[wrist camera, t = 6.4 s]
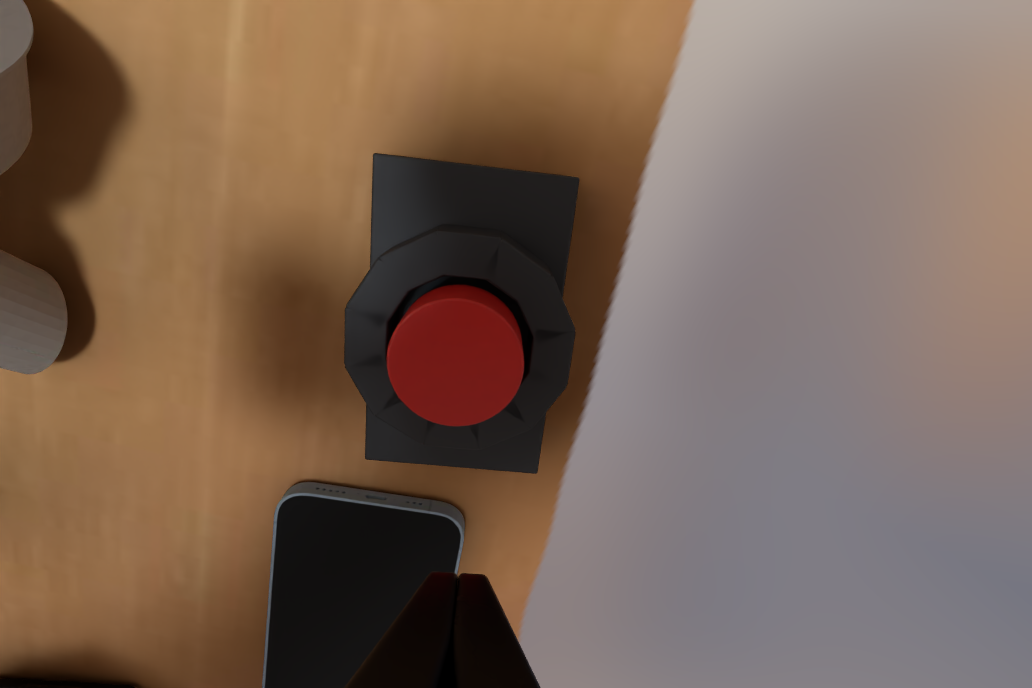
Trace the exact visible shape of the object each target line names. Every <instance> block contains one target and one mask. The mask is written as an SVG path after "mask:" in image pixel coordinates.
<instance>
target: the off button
mask: <svg viewBox="0 0 1032 688" xmlns="http://www.w3.org/2000/svg"><path fill="white" fill-rule="evenodd" d="M387 370H388V375H389V379H390V382H391V384H392V386H393V388H394V390H395V392H396V394H397V395H398V397H399V398H400V399H401V400H402V402H403V403H404V404H405V405H406V406H407V407H408V408H409V409H410V410H412V411H413V412H414V413H416V414H417V415H419V416H420V417H422V418H424V419H426V420H429V421H431V422H434V423H437V424H441V425H447V426H468V425H473V424H477V423H480V422H483V421H485V420H487V419H489V418H491V417H493V416H495V415H496V414H498V413H499V412H500V411H502V410H503V409H504V408H505V407H506V406H507V405H508V404H509V403H510V402H511V400H512V399H513V398H514V396H515V395H516V393H517V391H518V389H519V387H520V384H521V381H522V378H523V373H524V353H523V345H522V337H521V332H520V328H519V325H518V323H517V320H516V319H515V317H514V315H513V313H512V312H511V311H510V309H509V308H508V307H507V306H506V305H505V303H504V302H503V301H501V300H500V299H499V298H498V297H496V296H495V295H493V294H492V293H490V292H488V291H486V290H484V289H481V288H478V287H475V286H470V285H459V284H456V285H447V286H442V287H439V288H436V289H433V290H431V291H429V292H427V293H425V294H424V295H422V296H421V297H420V298H418V299H417V300H416V301H415V302H414V303H413V304H412V305H411V306H410V308H409V309H408V310H407V312H406V313H405V315H404V316H403V318H402V319H401V321H400V322H399V324H398V325H397V327H396V329H395V330H394V332H393V334H392V336H391V339H390V341H389V345H388V349H387Z"/></svg>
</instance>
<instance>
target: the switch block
mask: <svg viewBox="0 0 1032 688" xmlns="http://www.w3.org/2000/svg"><path fill="white" fill-rule="evenodd" d="M578 187H579V178H578V177H572V176H564V175H555V174H547V173H539V172H530V171H522V170H513V169H505V168H497V167H488V166H480V165H472V164H463V163H455V162H446V161H438V160H430V159H421V158H413V157H404V156H396V155H388V154H379V153H374V154H373V177H372V215H371V252H370V270H369V271H368V273H367V274H366V276H365V277H364V279H363V280H362V282H361V283H360V285H359V286H358V288H357V289H356V291H355V292H354V294H353V296H352V297H351V299H350V300H349V302H348V303H347V305H346V308H345V348H344V364H345V368H346V370H347V371H348V373H349V375H350V376H351V378H352V380H353V382H354V383H355V385H356V387H357V388H358V390H359V392H360V394H361V395H362V397H363V399H364V400H365V402H366V439H365V459H367V460H379V461H391V462H403V463H415V464H427V465H439V466H451V467H463V468H475V469H487V470H499V471H511V472H523V473H535V474H536V473H537V472H538V465H539V458H540V451H541V444H542V437H543V430H544V423H545V416H546V411H547V410H548V409H549V408H550V407H551V405H552V404H553V403H554V402H555V401H556V399H557V398H558V397H559V396H560V394H561V393H562V392H563V391H564V390H565V388H566V386H567V384H568V378H569V371H570V365H571V358H572V352H573V345H574V339H575V327H574V325H573V322H572V320H571V317H570V315H569V313H568V310H567V308H566V305H565V303H564V301H563V291H564V284H565V277H566V270H567V263H568V256H569V249H570V243H571V236H572V229H573V222H574V215H575V208H576V201H577V194H578ZM456 284H459V285H470V286H475V287H478V288H481V289H484V290H486V291H488V292H490V293H492V294H493V295H495V296H496V297H498V298H499V299H500V300H501V301H503V302H504V303H505V305H506V306H507V307H508V308H509V309H510V311H511V312H512V313H513V315H514V317H515V319H516V320H517V323H518V325H519V328H520V332H521V337H522V345H523V353H524V373H523V378H522V381H521V384H520V387H519V389H518V391H517V393H516V395H515V396H514V398H513V399H512V400H511V402H510V403H509V404H508V405H507V406H506V407H505V408H504V409H503V410H502V411H500V412H499V413H498V414H496V415H495V416H493V417H491V418H489V419H487V420H485V421H483V422H480V423H477V424H473V425H468V426H447V425H441V424H437V423H434V422H431V421H429V420H426V419H424V418H422V417H420V416H419V415H417V414H416V413H414V412H413V411H412V410H410V409H409V408H408V407H407V406H406V405H405V404H404V403H403V402H402V400H401V399H400V398H399V397H398V395H397V394H396V392H395V390H394V388H393V386H392V384H391V382H390V379H389V375H388V370H387V349H388V345H389V341H390V339H391V336H392V334H393V332H394V330H395V329H396V327H397V325H398V324H399V322H400V321H401V319H402V318H403V316H404V315H405V313H406V312H407V310H408V309H409V308H410V306H411V305H412V304H413V303H414V302H415V301H416V300H417V299H418V298H420V297H421V296H422V295H424V294H425V293H427V292H429V291H431V290H433V289H436V288H439V287H442V286H447V285H456Z"/></svg>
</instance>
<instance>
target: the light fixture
mask: <svg viewBox="0 0 1032 688" xmlns="http://www.w3.org/2000/svg"><path fill="white" fill-rule="evenodd" d="M33 35H34V29H33V23H32V18H31V15H30V13H29V10H28V8H27V6H26V5H25V3H24V2H23V0H0V175H1V174H2V173H4V172H5V171H7V170H8V169H9V168H10V167H11V166H12V165H13V164H14V163H15V162H16V161H17V160H18V159H19V158H20V157H21V155H22V154H23V153H24V151H25V149H26V148H27V146H28V144H29V141H30V138H31V135H32V116H31V105H30V94H29V83H28V71H27V60H26V55H27V53H28V52H29V50H30V47H31V45H32V42H33ZM66 331H67V308H66V302H65V299H64V296H63V293H62V290H61V289H60V287H59V285H58V283H57V282H56V281H55V279H54V278H53V277H52V276H51V275H50V274H49V273H47V272H46V271H44V270H42V269H40V268H38V267H36V266H34V265H32V264H29V263H27V262H25V261H23V260H21V259H19V258H17V257H15V256H13V255H10V254H8V253H6V252H4V251H2V250H0V368H3V369H7V370H11V371H16V372H20V373H24V374H35V373H38V372H41V371H43V370H44V369H46V368H47V367H49V366H50V365H51V364H52V363H53V362H54V360H55V359H56V357H57V356H58V354H59V353H60V351H61V348H62V346H63V344H64V340H65V336H66Z"/></svg>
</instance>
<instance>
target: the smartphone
mask: <svg viewBox="0 0 1032 688" xmlns="http://www.w3.org/2000/svg"><path fill="white" fill-rule="evenodd" d="M464 530H465V522H464V518H463V516H462V514H461V512H460V511H459V510H458V509H457V508H456V507H454V506H452V505H451V504H448V503H445V502H441V501H436V500H429V499H422V498H416V497H409V496H402V495H395V494H389V493H382V492H375V491H369V490H362V489H355V488H349V487H342V486H335V485H329V484H322V483H315V482H303V483H298V484H296V485H294V486H292V487H291V488H289V489H288V490H287V492H286V493H285V494H284V496H283V497H282V499H281V500H280V502H279V503H278V505H277V507H276V510H275V515H274V527H273V541H272V555H271V569H270V583H269V597H268V611H267V625H266V639H265V653H264V667H263V681H262V688H344V687H345V686H346V685H347V683H348V682H349V681H350V679H351V678H352V677H353V675H354V674H355V673H356V671H357V670H358V669H359V667H360V666H361V665H362V663H363V662H364V661H365V659H366V658H367V656H368V655H369V654H370V652H371V651H372V650H373V648H374V647H375V646H376V644H377V643H378V642H379V640H380V639H381V638H382V636H383V635H384V634H385V632H386V631H387V630H388V628H389V627H390V626H391V624H392V623H393V621H394V620H395V619H396V617H397V616H398V615H399V613H400V612H401V611H402V609H403V608H404V607H405V605H406V604H407V603H408V601H409V600H410V599H411V597H412V596H413V595H414V593H415V592H416V590H417V589H418V588H419V586H420V585H421V584H422V582H423V581H424V580H425V578H426V577H427V576H428V575H429V574H430V573H431V572H434V571H436V572H452V573H456V574H457V572H458V567H459V562H460V557H461V552H462V547H463V540H464Z"/></svg>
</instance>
